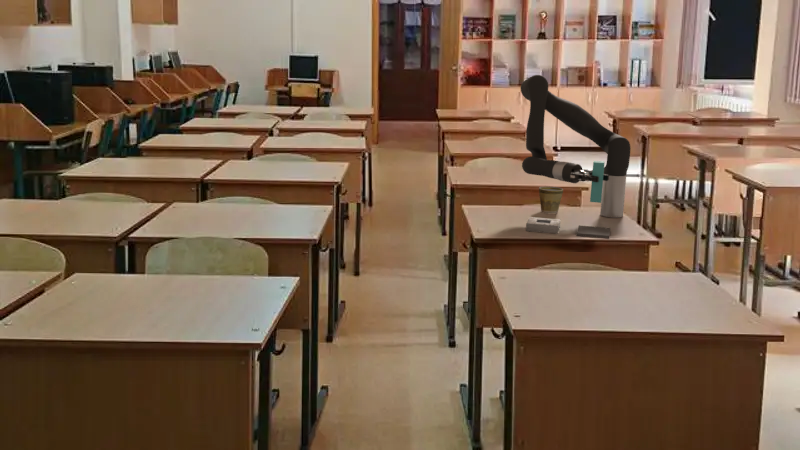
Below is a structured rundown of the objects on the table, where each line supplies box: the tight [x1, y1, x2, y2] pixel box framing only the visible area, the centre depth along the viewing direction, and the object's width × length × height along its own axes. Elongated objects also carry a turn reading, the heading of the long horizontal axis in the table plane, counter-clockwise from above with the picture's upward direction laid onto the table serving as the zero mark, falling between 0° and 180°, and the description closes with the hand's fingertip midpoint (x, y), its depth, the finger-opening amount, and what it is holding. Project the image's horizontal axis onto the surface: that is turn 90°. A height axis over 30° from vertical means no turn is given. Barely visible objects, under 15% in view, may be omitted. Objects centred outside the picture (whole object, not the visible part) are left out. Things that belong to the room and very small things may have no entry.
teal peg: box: [589, 160, 606, 204], centre depth 349 cm, size 4×4×15 cm
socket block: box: [525, 216, 562, 234], centre depth 358 cm, size 12×12×3 cm
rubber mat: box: [576, 225, 611, 239], centre depth 354 cm, size 14×12×1 cm
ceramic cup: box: [538, 185, 564, 214], centre depth 390 cm, size 13×10×10 cm
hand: (603, 178), depth 347 cm, fingers closed on teal peg, 5 cm apart
